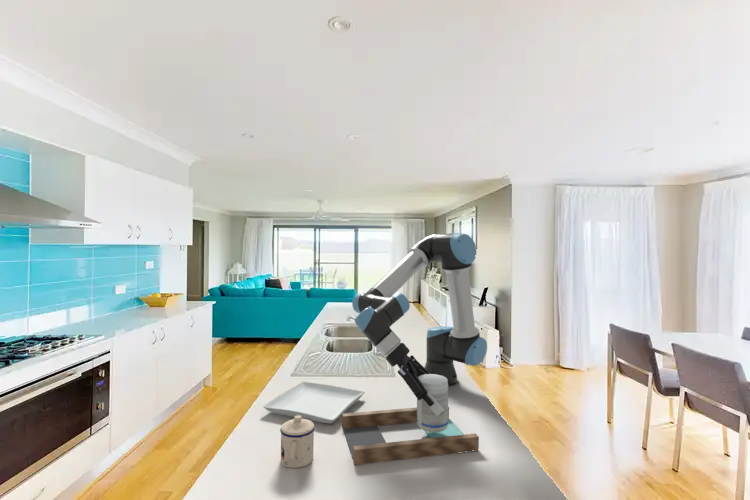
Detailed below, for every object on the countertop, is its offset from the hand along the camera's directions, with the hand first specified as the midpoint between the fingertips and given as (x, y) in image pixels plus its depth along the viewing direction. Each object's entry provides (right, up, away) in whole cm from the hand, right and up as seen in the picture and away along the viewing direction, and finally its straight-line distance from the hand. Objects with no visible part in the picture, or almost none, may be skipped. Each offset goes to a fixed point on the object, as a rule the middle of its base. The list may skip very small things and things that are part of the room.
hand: (442, 406), depth 117 cm
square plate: (-42, -9, +21) cm, 48 cm away
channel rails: (-11, -9, -1) cm, 15 cm away
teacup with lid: (-42, -9, -15) cm, 45 cm away
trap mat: (-23, -9, -4) cm, 25 cm away
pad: (+1, -10, +2) cm, 10 cm away
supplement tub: (-3, -7, +1) cm, 8 cm away
